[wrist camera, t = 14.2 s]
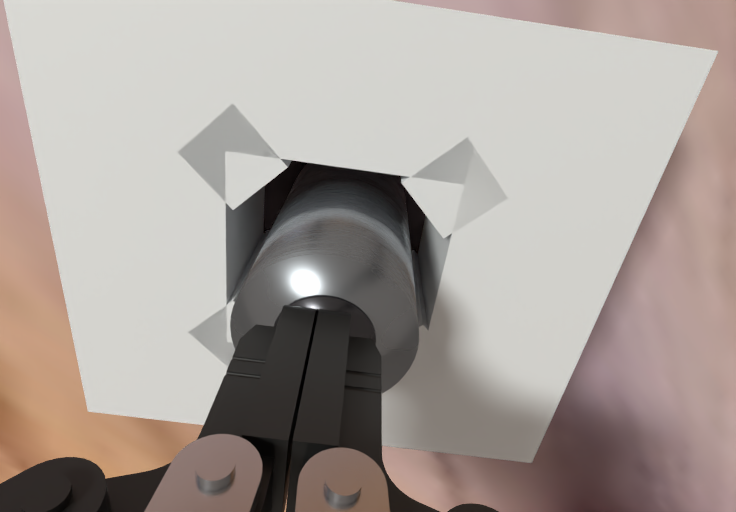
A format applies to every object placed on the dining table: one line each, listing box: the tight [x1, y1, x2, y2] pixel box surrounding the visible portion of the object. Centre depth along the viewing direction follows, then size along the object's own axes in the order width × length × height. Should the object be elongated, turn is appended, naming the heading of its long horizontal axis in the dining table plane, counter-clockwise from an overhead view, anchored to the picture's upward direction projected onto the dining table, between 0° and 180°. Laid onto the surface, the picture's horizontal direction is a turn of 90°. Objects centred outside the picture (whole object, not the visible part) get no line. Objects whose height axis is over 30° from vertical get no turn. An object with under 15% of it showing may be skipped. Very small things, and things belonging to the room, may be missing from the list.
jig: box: [3, 0, 718, 463], centre depth 16 cm, size 16×14×5 cm
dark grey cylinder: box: [230, 163, 419, 394], centre depth 14 cm, size 4×4×8 cm
